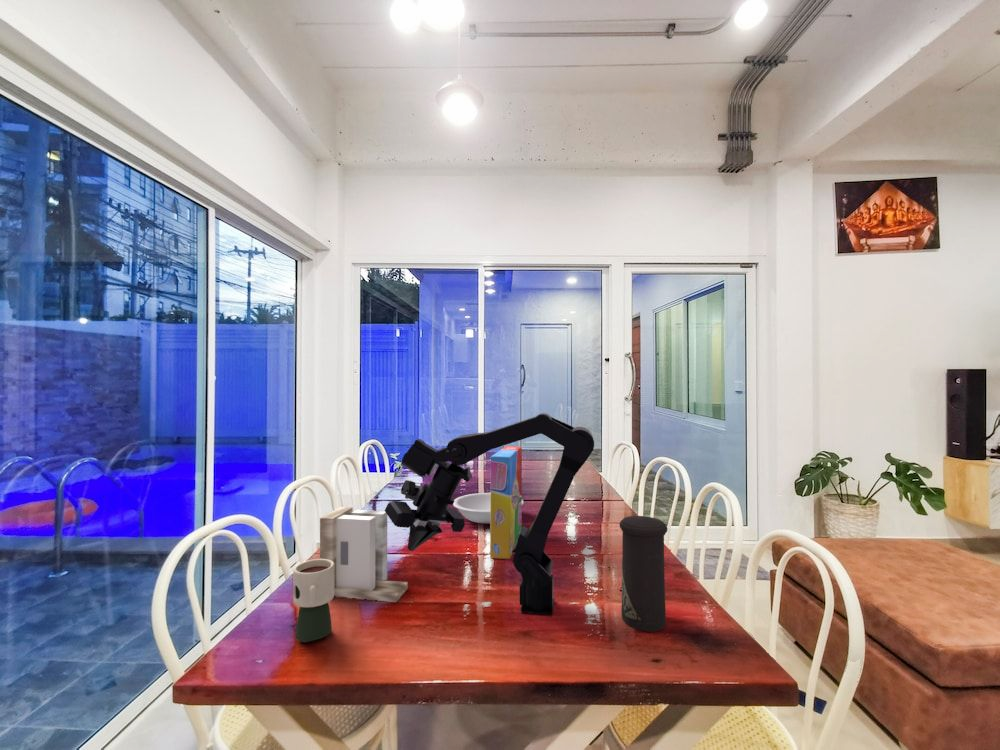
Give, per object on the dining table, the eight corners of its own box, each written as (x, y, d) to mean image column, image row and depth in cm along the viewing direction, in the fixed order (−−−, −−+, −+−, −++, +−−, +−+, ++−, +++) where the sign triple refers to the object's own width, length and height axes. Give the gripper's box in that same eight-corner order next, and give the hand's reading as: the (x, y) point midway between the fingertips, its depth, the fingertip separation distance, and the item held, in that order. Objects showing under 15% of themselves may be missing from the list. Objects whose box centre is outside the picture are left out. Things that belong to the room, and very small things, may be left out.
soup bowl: (443, 515, 161) (443, 496, 161) (505, 507, 171) (505, 490, 171) (467, 536, 139) (467, 515, 139) (536, 526, 149) (536, 505, 149)
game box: (510, 560, 121) (509, 457, 121) (489, 558, 122) (489, 456, 122) (522, 534, 141) (521, 445, 141) (504, 533, 142) (504, 445, 142)
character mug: (295, 624, 89) (295, 557, 89) (334, 618, 91) (334, 552, 91) (290, 656, 79) (290, 580, 79) (334, 648, 81) (334, 574, 81)
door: (375, 587, 104) (375, 516, 104) (369, 593, 101) (369, 520, 101) (342, 584, 105) (342, 514, 105) (335, 590, 102) (335, 518, 102)
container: (630, 605, 96) (630, 510, 97) (674, 619, 91) (673, 518, 91) (612, 622, 90) (612, 519, 90) (658, 638, 84) (657, 529, 84)
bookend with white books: (413, 582, 108) (413, 509, 108) (396, 602, 98) (396, 522, 98) (342, 576, 111) (342, 506, 111) (319, 595, 101) (319, 518, 101)
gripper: (454, 475, 112) (425, 530, 113) (390, 462, 99) (359, 525, 100) (479, 500, 104) (448, 559, 105) (414, 491, 91) (379, 558, 92)
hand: (409, 549), depth 101 cm, fingers closed
